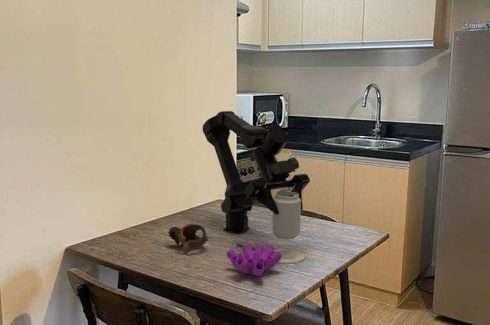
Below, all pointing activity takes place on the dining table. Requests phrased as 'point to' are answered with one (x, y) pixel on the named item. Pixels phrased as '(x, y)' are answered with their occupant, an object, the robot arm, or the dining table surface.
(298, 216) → the can
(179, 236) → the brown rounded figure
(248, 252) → the purple tube coral sculpture
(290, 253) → the disc
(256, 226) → the dining table surface
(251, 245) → the thin grey rod
